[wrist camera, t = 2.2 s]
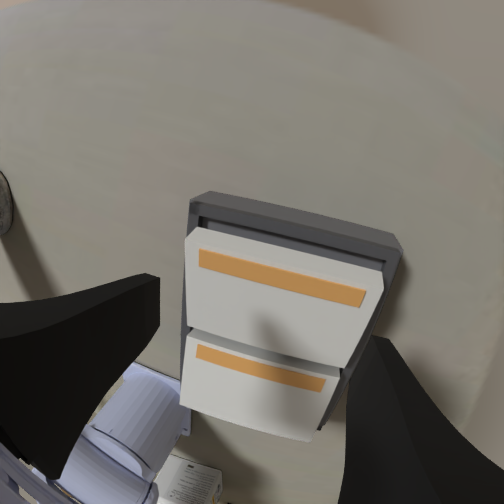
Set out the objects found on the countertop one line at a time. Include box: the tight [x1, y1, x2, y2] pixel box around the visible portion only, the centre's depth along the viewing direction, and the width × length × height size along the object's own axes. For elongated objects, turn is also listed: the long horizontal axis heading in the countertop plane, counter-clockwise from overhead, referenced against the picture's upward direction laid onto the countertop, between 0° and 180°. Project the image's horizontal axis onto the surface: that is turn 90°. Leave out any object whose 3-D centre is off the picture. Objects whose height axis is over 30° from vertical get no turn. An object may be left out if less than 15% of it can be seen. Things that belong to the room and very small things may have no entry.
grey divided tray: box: [180, 191, 403, 430], centre depth 20 cm, size 15×12×4 cm
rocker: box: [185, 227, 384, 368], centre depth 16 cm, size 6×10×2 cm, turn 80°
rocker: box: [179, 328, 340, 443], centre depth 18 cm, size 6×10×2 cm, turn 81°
